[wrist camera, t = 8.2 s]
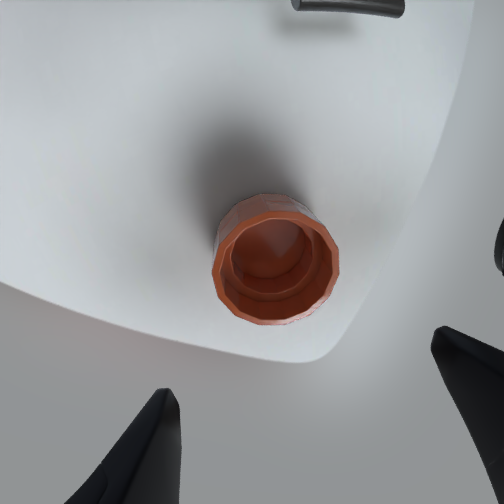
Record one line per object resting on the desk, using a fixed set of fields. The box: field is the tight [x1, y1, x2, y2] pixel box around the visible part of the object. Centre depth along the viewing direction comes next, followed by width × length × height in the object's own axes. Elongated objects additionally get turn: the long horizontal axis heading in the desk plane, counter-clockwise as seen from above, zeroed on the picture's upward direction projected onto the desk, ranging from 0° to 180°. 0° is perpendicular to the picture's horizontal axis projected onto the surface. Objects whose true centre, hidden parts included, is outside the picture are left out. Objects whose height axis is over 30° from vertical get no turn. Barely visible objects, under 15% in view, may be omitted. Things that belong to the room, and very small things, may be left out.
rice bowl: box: [212, 194, 339, 325], centre depth 17 cm, size 6×6×4 cm
